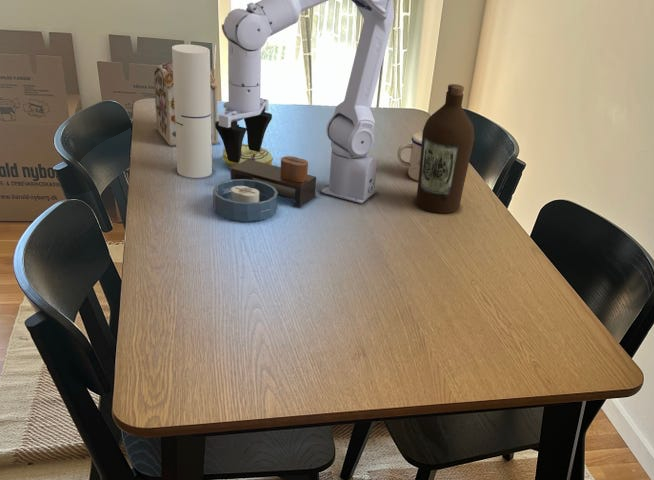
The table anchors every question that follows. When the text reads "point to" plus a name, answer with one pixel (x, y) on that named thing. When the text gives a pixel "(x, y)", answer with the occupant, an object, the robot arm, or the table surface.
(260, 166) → the rack
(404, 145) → the teacup with lid
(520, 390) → the table surface
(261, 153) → the decorated donut
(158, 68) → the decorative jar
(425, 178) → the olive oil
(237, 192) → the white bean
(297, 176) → the brown rounded block
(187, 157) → the cylindrical container
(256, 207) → the bowl
